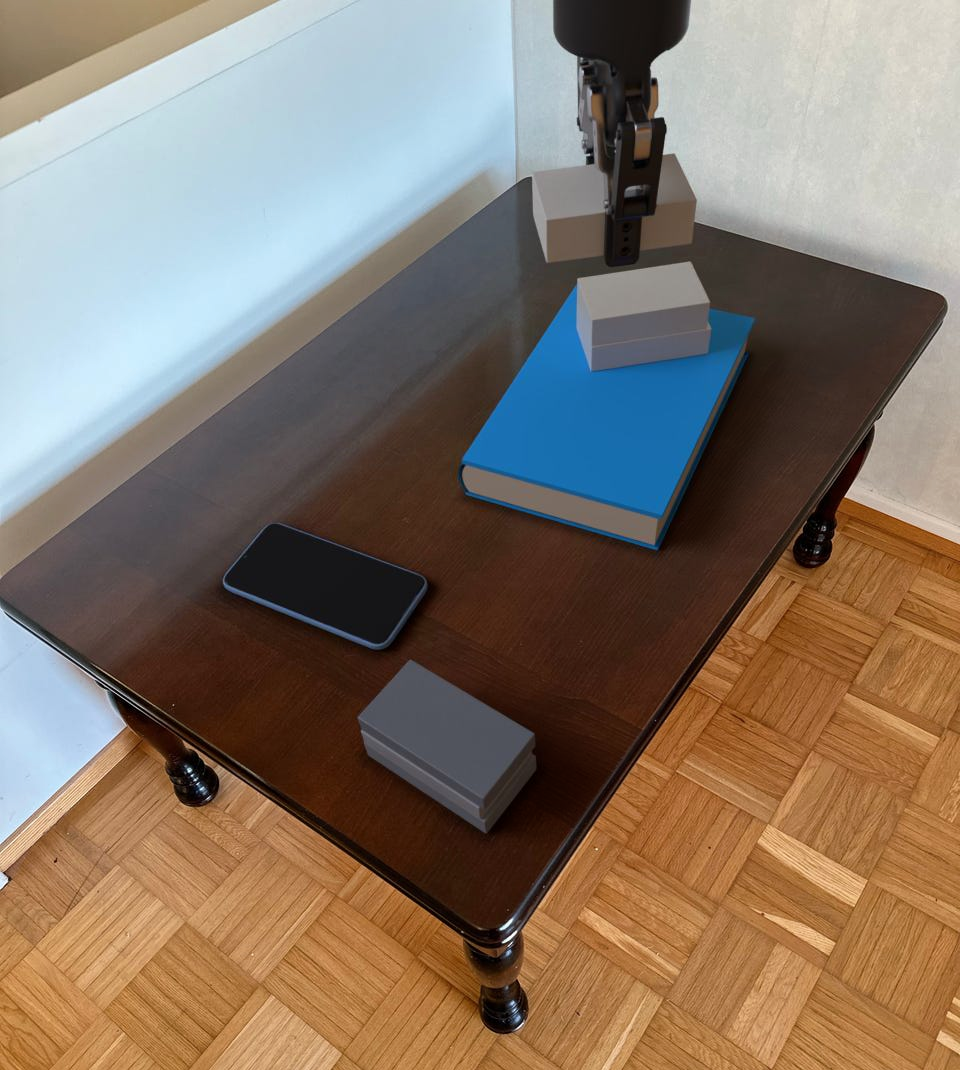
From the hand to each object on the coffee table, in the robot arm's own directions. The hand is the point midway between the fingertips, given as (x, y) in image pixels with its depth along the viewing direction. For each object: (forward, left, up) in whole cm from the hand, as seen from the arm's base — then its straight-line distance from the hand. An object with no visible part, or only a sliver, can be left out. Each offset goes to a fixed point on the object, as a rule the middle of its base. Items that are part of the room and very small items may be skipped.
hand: (610, 234), depth 63 cm
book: (-2, -3, -20) cm, 20 cm away
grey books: (+16, +27, -20) cm, 37 cm away
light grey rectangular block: (-5, -8, -16) cm, 18 cm away
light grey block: (0, 0, 0) cm, 0 cm away
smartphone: (+24, +10, -20) cm, 32 cm away
